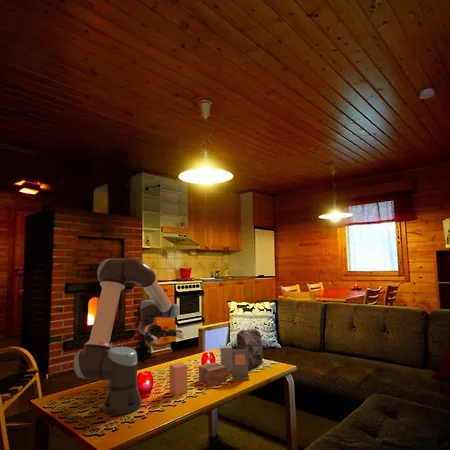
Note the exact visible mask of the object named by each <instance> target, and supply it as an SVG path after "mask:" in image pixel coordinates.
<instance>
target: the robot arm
mask: <svg viewBox="0 0 450 450" xmlns="http://www.w3.org/2000/svg"><path fill="white" fill-rule="evenodd" d="M96 273H97V274H96V275H97V279H98V281H99V285H100V287H101V292H100V296H99V300H98V303H97V308H96V312H95V315H94V316H95V317H94V320H93V324H92V327H91V332H90V336H89V339H88V341H86V343H84V345H83V349H82V348H81V349H80V350H78V351H77V353H76V354H75V357H74V361H73V369H74V372H75V374H76V376H77V377H78V378H80V379H86V380H94V381H97V380H98V381H107V391H106V395H105V398H104V401H103V406H102V411H103V413H104V414H107V415H111V416H119V415H121V416H122V415H127V414H131V413H133V412H135V411H137V410H139V409H141V407H142V398H141V395H140V391H139V388H138V355H137V354H138V353H137V351H136V350H135V349H134V348H133V347H129V346H128V347H127V346H114V347H112V345H111V344H110V341H111V338H112V337H111V336H112V332H113V329H114V328H113V327H114V324H115V319H116V314H117V310H118V306H119V301H120V295H121V292H122V291H123V290H125V288H126V285H127V284H126V283H130V284H131V283H132V284H137V286H138V287H140V288H142V289H143V290H144V291H145V293H146V295H148V297H149V298H150V299H146V300H141V301H140V323H138V324H139V325H138V329H137V330H138V332H139V333H140V334H142V335H143V341H144V342H147V343H149V344H150V343H151V342H152V343H153V344H156V345H157V344H158V340H159V339H160V338H167V337H176V338H178V339H180V340H184V333H183V331H182V330H180V329H178V330H177V329H169V328H168V329H163V327H162V326H161V325H159V324H156V323H155V318H159V319H176V318H178V317H179V314H180V306H179V304H177V303H172V301H171V300H170V298H169V297H168V296H167V293H166V292H165V291H164V289H163V288H162V286H161V285H160V283H159V282H158V280H157V275H156V273H155V271H154V270H153V269H152V268H151V267H150V265H148V264H147V263H146V262H144V261H142V260H140V259H138V258H136V257H129V258H128V257H127V258H124V257H123V258H115V257H113V258H108V259H104V260H102V261H101V263H100V264H99V266H98V268H97V271H96Z"/></svg>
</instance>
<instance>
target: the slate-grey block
mask: <svg viewBox="0 0 450 450" xmlns="http://www.w3.org/2000/svg"><path fill="white" fill-rule="evenodd" d="M219 347H220V364H221V365H223V366H226V370H227V372H229V371H230V372H232V350H233V346H232V345H231V344H224V345H223V344H222V345H219Z"/></svg>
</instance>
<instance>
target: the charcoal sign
mask: <svg viewBox="0 0 450 450" xmlns="http://www.w3.org/2000/svg"><path fill="white" fill-rule="evenodd" d="M231 372H232V373H231V374H232V381H233V382H238V381H250V377H249V368H248V349H246V350H236V349H232V371H231Z"/></svg>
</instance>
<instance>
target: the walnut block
mask: <svg viewBox="0 0 450 450" xmlns="http://www.w3.org/2000/svg"><path fill="white" fill-rule="evenodd" d="M227 373H228V371H227V370H226V366H223V365H221V363H218V362H216V361H215V362H210V363H206V364H205V363H204V364H203V365H199V366H198V381H200V382H202V383H203V384H205V385H208V386H209V387H210V386H214V385H218V384H221V383H225V382H227V381H228V379H227V378H228V377H227Z"/></svg>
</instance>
